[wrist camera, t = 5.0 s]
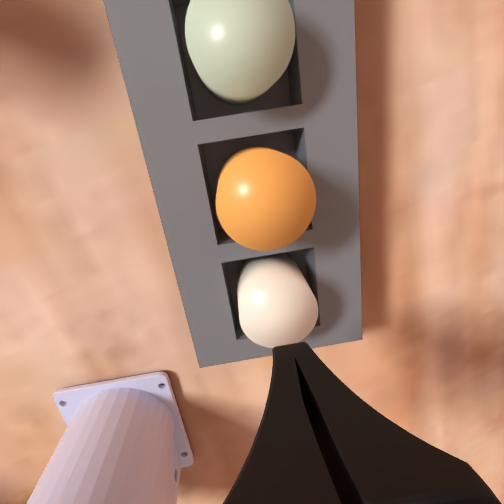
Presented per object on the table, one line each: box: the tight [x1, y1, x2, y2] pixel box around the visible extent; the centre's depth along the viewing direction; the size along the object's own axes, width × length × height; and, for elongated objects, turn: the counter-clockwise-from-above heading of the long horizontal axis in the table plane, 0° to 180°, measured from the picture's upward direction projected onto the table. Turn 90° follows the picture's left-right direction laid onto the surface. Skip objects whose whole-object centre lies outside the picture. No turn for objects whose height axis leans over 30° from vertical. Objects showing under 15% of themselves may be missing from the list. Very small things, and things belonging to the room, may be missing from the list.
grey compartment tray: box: [103, 0, 362, 368], centre depth 17 cm, size 20×10×3 cm, turn 8°
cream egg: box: [237, 253, 318, 348], centre depth 18 cm, size 4×4×4 cm
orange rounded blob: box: [216, 146, 316, 251], centre depth 14 cm, size 4×4×4 cm
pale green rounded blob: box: [185, 0, 295, 104], centre depth 13 cm, size 4×4×4 cm
